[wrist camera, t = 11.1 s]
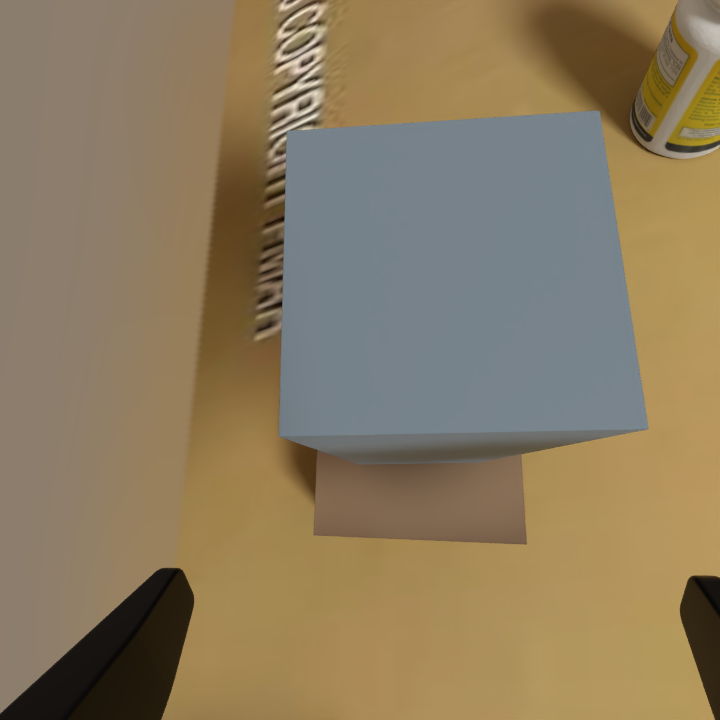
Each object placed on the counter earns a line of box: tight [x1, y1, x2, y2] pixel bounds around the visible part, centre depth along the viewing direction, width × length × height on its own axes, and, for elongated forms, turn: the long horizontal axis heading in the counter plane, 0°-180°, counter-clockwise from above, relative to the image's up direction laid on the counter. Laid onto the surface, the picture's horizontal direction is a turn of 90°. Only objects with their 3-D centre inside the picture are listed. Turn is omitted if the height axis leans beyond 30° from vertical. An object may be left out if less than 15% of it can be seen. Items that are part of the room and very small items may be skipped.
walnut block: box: [314, 450, 527, 544], centre depth 21 cm, size 10×8×4 cm
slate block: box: [279, 111, 648, 464], centre depth 13 cm, size 5×5×13 cm
